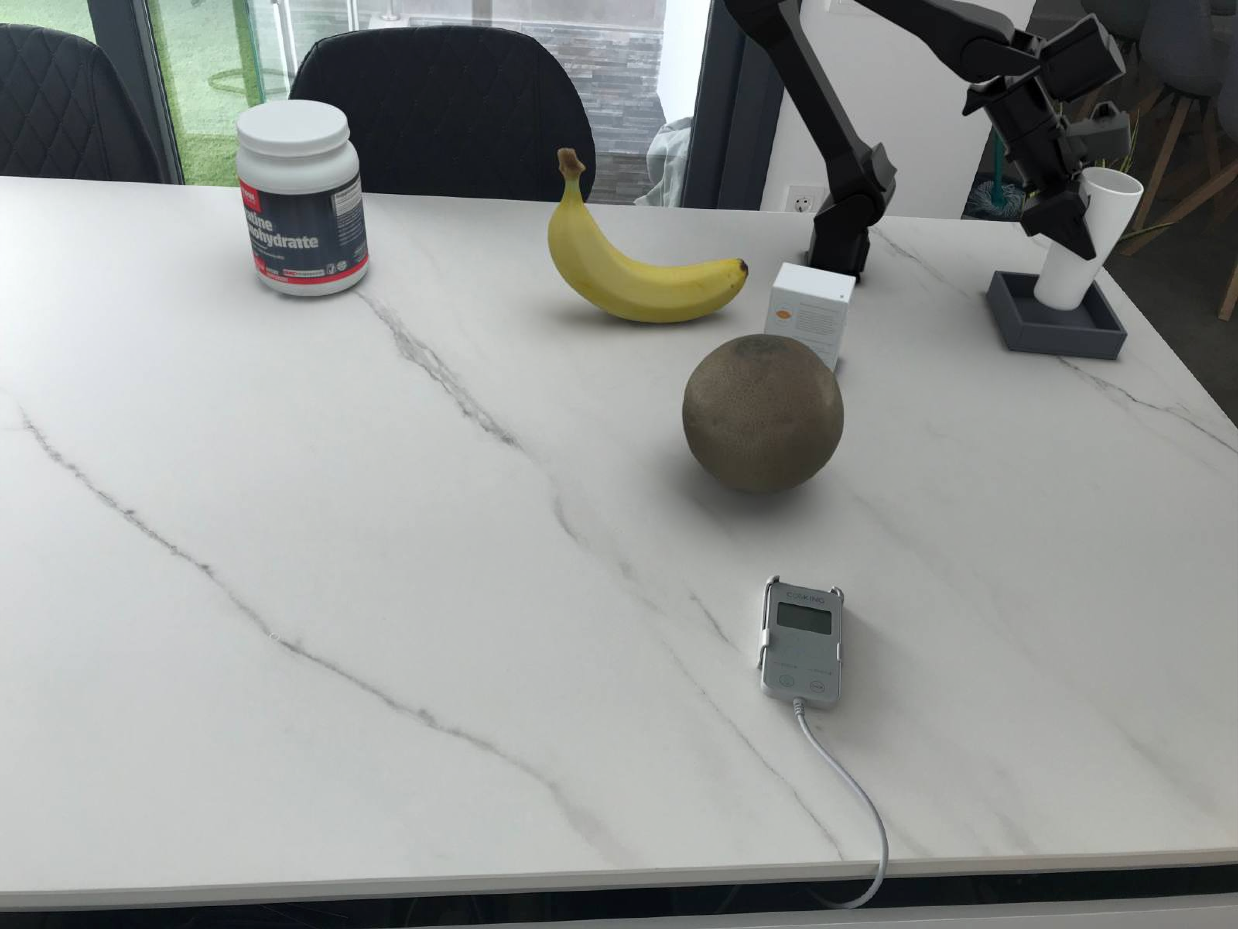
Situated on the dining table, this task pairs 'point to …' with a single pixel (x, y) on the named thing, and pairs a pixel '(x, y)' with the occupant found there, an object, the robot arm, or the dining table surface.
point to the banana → (631, 267)
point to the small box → (810, 308)
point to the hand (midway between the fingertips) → (1093, 245)
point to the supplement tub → (302, 197)
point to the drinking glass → (1106, 222)
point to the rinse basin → (1054, 320)
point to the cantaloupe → (762, 413)
